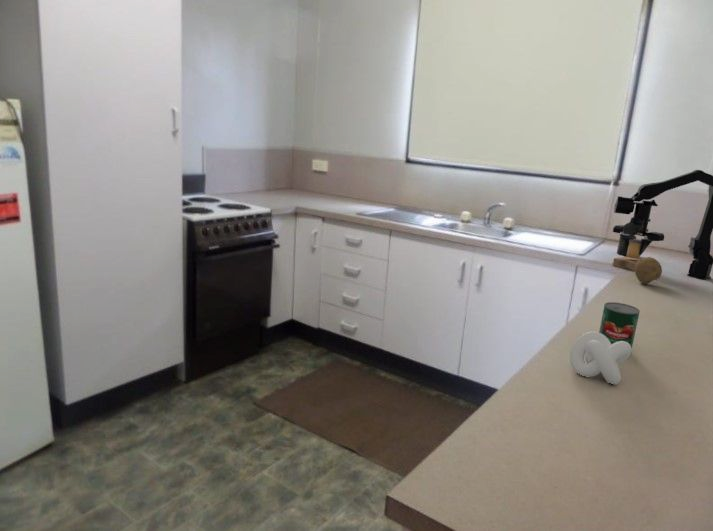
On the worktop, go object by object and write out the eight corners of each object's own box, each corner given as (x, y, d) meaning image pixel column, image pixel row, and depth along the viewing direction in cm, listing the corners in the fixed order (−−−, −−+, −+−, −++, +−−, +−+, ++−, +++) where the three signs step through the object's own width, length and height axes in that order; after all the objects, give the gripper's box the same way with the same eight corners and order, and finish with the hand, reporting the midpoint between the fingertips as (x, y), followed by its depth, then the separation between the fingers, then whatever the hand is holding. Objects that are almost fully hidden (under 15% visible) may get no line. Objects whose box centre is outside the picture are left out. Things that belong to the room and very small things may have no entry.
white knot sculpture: (635, 394, 113) (645, 353, 111) (574, 385, 115) (582, 345, 112) (620, 371, 124) (628, 333, 121) (564, 363, 125) (571, 326, 123)
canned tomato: (621, 344, 140) (629, 303, 137) (637, 357, 132) (646, 313, 130) (590, 342, 140) (598, 301, 137) (605, 355, 132) (614, 311, 129)
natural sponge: (644, 279, 209) (649, 254, 206) (664, 286, 201) (670, 260, 198) (626, 280, 205) (631, 254, 203) (646, 287, 197) (652, 260, 195)
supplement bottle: (634, 257, 249) (640, 231, 246) (618, 255, 250) (623, 229, 247) (630, 253, 256) (635, 228, 253) (614, 252, 257) (619, 226, 254)
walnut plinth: (648, 269, 226) (650, 262, 226) (635, 271, 221) (637, 264, 220) (625, 263, 234) (627, 256, 233) (612, 265, 229) (614, 258, 228)
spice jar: (642, 258, 226) (646, 241, 224) (635, 259, 223) (639, 241, 221) (630, 255, 230) (633, 238, 228) (623, 256, 227) (627, 239, 225)
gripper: (608, 212, 225) (601, 249, 229) (654, 220, 210) (645, 260, 214) (623, 211, 231) (616, 247, 235) (668, 219, 216) (660, 258, 220)
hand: (633, 253), depth 226 cm, fingers closed on spice jar, 5 cm apart
